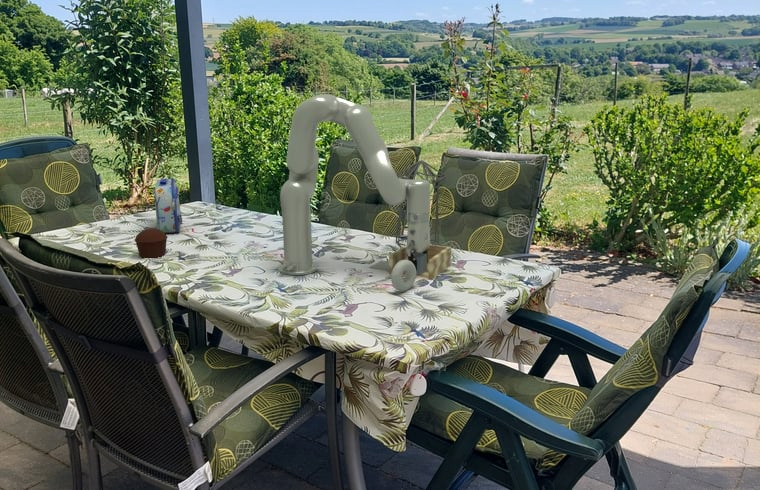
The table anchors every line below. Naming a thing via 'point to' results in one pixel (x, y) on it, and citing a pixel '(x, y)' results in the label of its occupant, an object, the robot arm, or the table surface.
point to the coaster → (381, 265)
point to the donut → (398, 272)
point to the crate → (436, 260)
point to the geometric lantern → (424, 165)
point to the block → (421, 263)
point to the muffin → (151, 243)
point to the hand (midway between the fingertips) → (417, 267)
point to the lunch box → (167, 206)
